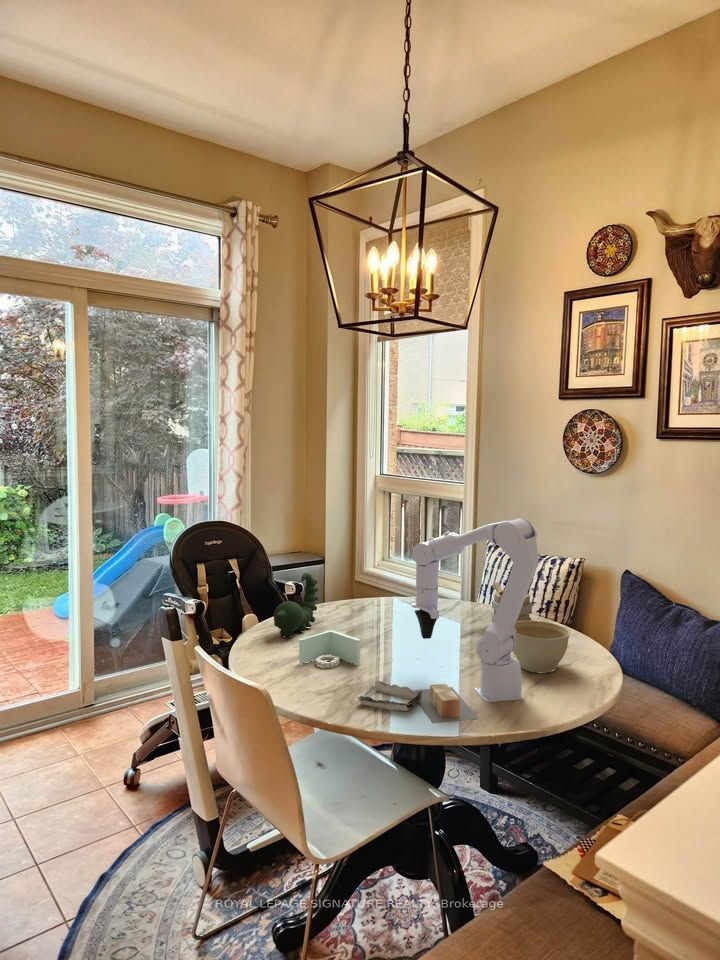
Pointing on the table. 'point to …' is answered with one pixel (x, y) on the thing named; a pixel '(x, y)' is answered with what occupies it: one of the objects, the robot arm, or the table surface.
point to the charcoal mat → (433, 713)
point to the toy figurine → (297, 610)
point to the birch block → (444, 700)
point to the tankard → (525, 608)
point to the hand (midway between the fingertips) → (426, 637)
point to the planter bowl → (540, 645)
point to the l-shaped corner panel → (329, 649)
